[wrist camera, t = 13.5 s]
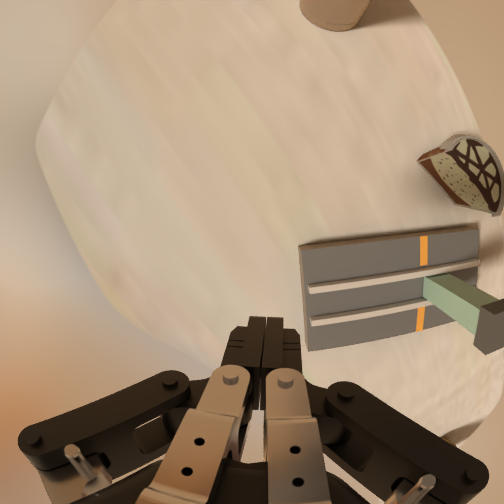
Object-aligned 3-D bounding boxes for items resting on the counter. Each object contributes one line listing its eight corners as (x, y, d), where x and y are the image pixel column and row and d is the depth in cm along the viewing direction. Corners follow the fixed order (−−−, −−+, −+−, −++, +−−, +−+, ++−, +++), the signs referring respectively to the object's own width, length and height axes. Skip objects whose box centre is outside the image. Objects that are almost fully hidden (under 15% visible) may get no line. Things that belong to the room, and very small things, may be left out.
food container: (476, 182, 35) (518, 183, 25) (459, 211, 36) (501, 218, 26) (428, 125, 34) (467, 111, 24) (409, 154, 35) (448, 146, 25)
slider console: (298, 245, 38) (302, 252, 34) (467, 226, 36) (483, 230, 32) (305, 341, 40) (309, 356, 36) (462, 309, 39) (476, 318, 35)
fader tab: (421, 271, 35) (494, 314, 19) (448, 266, 34) (523, 303, 19) (419, 301, 35) (485, 355, 20) (446, 295, 35) (514, 341, 20)
